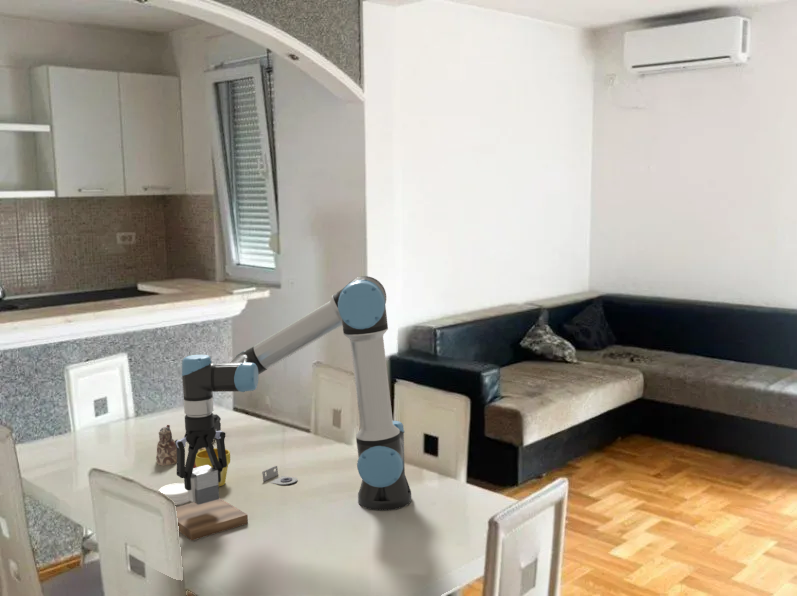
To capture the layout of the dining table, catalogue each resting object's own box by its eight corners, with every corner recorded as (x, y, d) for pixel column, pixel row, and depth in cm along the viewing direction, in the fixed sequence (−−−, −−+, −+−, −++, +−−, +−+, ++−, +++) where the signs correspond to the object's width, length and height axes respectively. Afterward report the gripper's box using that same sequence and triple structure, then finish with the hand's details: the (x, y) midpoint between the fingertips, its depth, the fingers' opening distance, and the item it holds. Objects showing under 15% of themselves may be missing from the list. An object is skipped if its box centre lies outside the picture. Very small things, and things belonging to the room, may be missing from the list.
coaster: (156, 496, 236) (155, 485, 236) (191, 491, 240) (190, 480, 240) (160, 508, 227) (159, 496, 227) (196, 503, 231) (195, 491, 230)
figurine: (152, 464, 265) (150, 429, 263) (163, 457, 272) (161, 423, 270) (172, 466, 263) (169, 430, 262) (182, 459, 270) (180, 424, 268)
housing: (219, 499, 215) (217, 470, 214) (198, 504, 212) (196, 475, 211) (209, 492, 220) (207, 464, 219) (188, 498, 216) (186, 469, 215)
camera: (193, 434, 298) (192, 408, 297) (221, 431, 301) (219, 405, 300) (194, 444, 285) (193, 417, 284) (223, 441, 288) (221, 414, 287)
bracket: (287, 488, 241) (287, 477, 241) (262, 482, 247) (262, 471, 247) (301, 481, 247) (301, 470, 246) (277, 475, 252) (276, 465, 252)
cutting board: (247, 523, 215) (247, 514, 214) (191, 540, 205) (191, 531, 204) (217, 504, 229) (216, 496, 228) (163, 519, 219) (162, 510, 218)
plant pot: (217, 475, 253) (215, 445, 251) (238, 482, 246) (237, 451, 245) (189, 485, 245) (187, 454, 243) (211, 492, 238) (209, 460, 237)
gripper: (225, 404, 222) (229, 485, 225) (158, 417, 210) (164, 502, 213) (238, 409, 216) (242, 492, 219) (170, 423, 204) (175, 510, 207)
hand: (203, 497), depth 216 cm, fingers closed on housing, 6 cm apart
